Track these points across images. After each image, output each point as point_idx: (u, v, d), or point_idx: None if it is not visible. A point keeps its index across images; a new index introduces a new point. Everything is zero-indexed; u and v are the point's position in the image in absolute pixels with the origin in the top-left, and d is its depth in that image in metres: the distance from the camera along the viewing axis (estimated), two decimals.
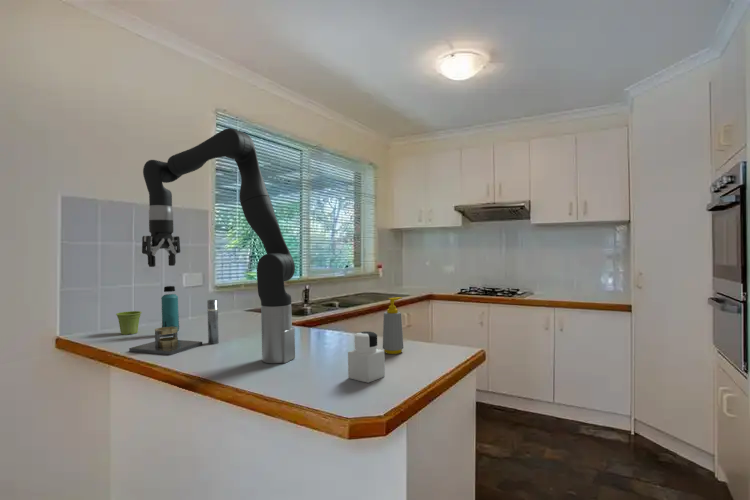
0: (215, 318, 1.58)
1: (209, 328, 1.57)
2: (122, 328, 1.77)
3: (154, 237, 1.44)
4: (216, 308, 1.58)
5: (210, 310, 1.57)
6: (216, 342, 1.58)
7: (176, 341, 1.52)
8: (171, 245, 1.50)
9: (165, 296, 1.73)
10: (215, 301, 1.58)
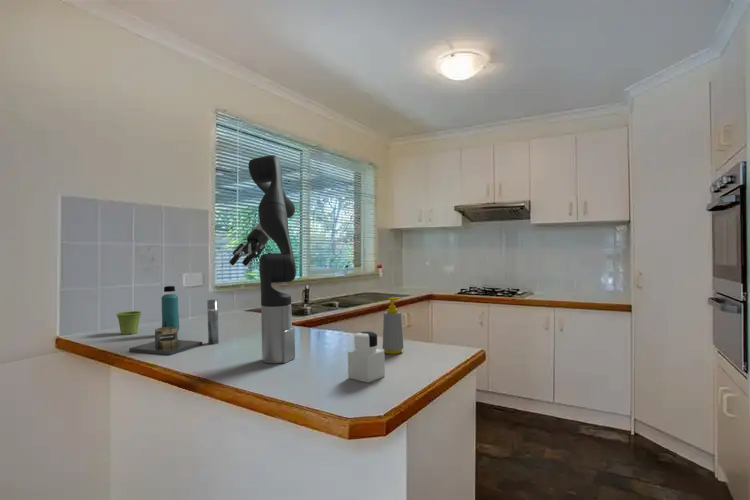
0: (215, 318, 1.58)
1: (209, 328, 1.57)
2: (122, 328, 1.77)
3: None
4: (216, 308, 1.58)
5: (210, 310, 1.57)
6: (216, 342, 1.58)
7: (176, 341, 1.52)
8: (249, 247, 1.69)
9: (165, 296, 1.73)
10: (215, 301, 1.58)
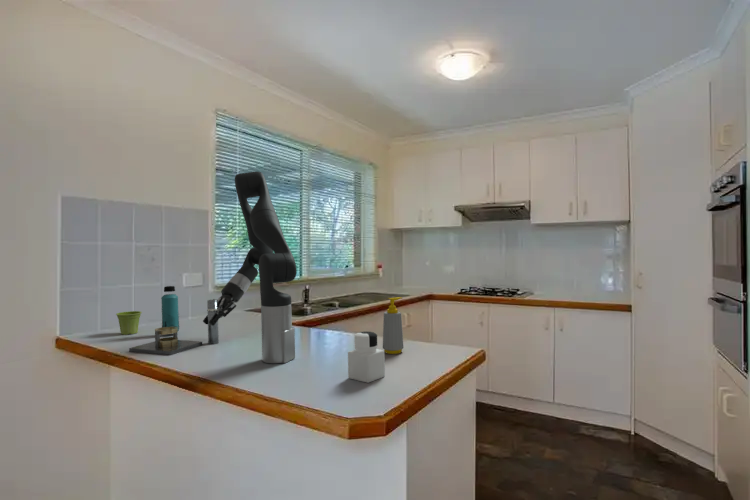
0: None
1: (209, 328, 1.57)
2: (122, 328, 1.77)
3: None
4: (216, 308, 1.58)
5: (210, 310, 1.57)
6: (216, 342, 1.58)
7: (176, 341, 1.52)
8: (220, 304, 1.60)
9: (165, 296, 1.73)
10: (215, 301, 1.58)
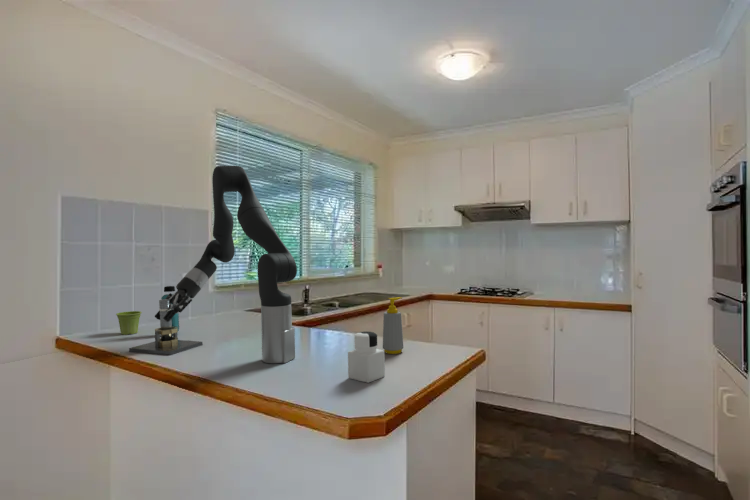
0: None
1: (161, 329, 1.51)
2: (122, 328, 1.77)
3: None
4: (168, 308, 1.51)
5: (162, 310, 1.50)
6: None
7: (176, 341, 1.52)
8: (175, 300, 1.52)
9: (165, 296, 1.73)
10: (167, 301, 1.51)
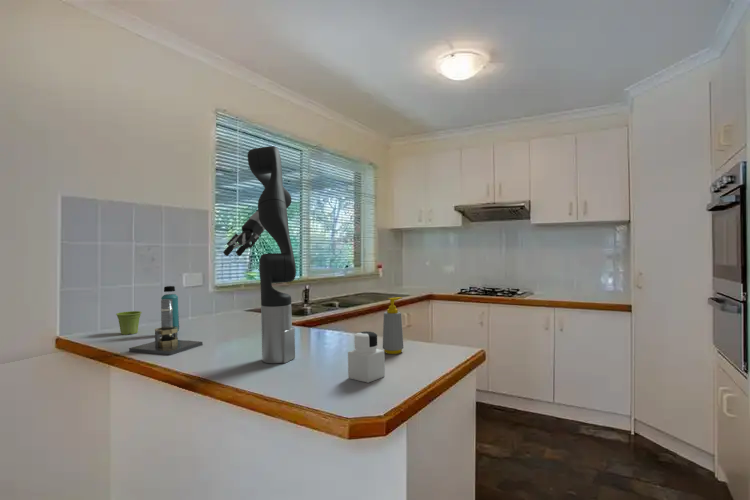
0: (169, 318, 1.51)
1: (162, 329, 1.51)
2: (122, 328, 1.77)
3: None
4: (170, 308, 1.52)
5: (163, 310, 1.50)
6: None
7: (176, 341, 1.52)
8: (243, 238, 1.65)
9: (165, 296, 1.73)
10: (169, 301, 1.51)
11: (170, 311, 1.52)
